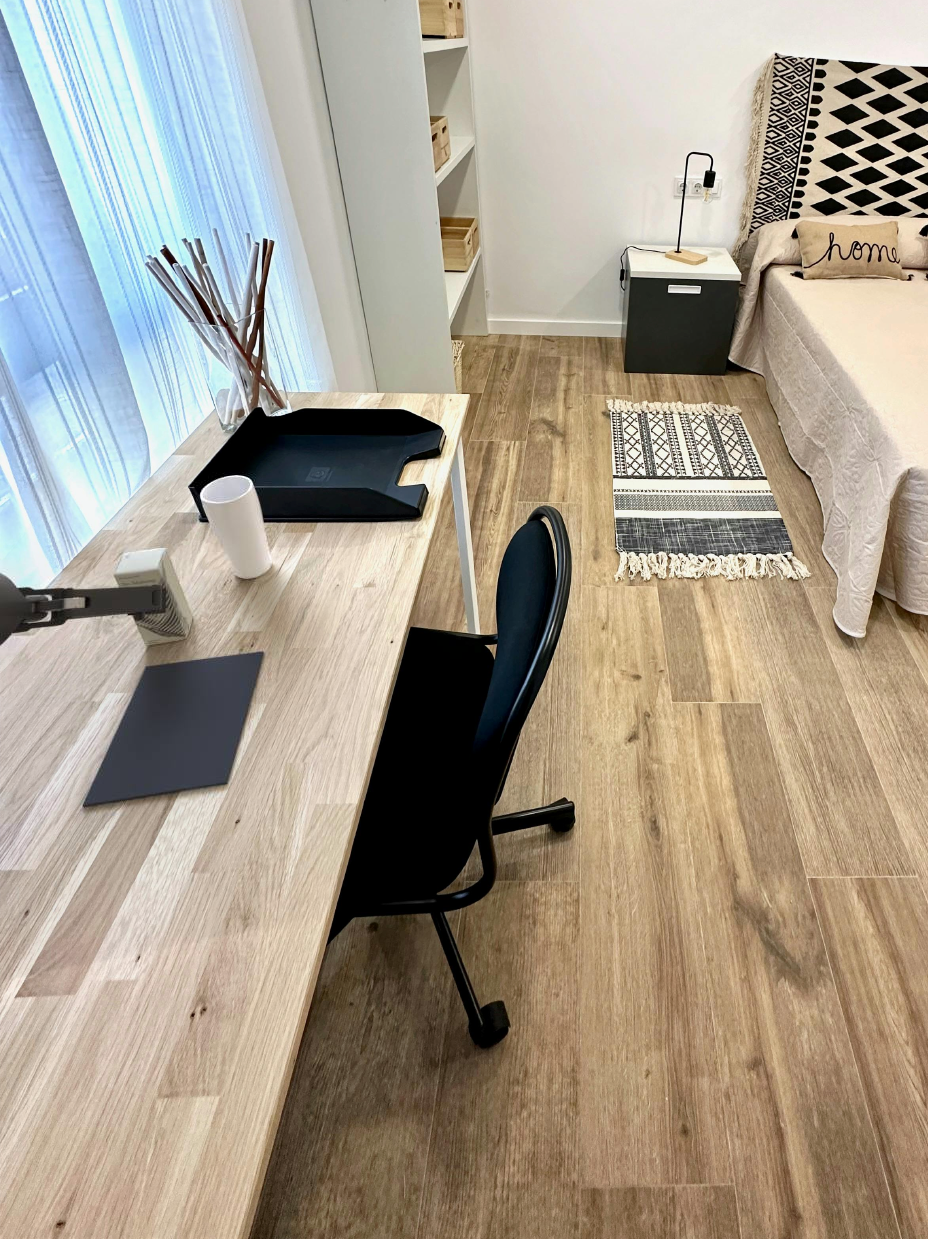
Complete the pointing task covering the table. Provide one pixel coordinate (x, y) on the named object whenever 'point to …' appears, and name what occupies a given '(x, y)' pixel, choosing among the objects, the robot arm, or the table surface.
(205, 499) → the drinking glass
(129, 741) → the dark blue mat
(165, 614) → the box
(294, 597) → the table surface
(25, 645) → the table surface
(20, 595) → the robot arm
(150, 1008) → the table surface
